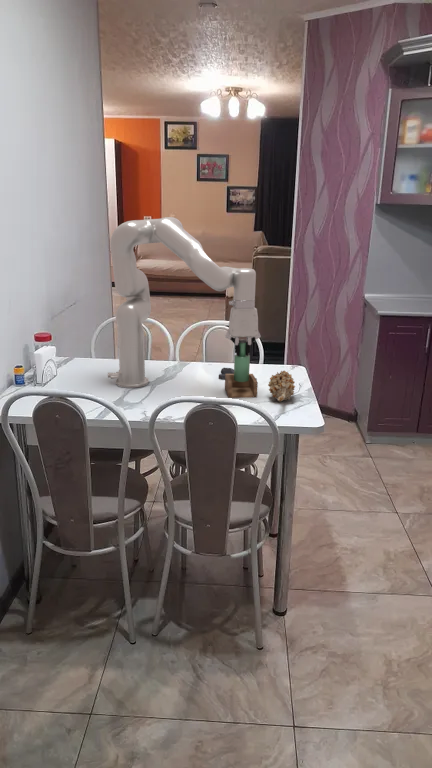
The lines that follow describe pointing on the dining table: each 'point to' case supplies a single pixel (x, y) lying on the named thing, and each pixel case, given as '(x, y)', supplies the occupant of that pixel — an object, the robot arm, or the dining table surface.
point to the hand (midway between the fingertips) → (242, 354)
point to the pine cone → (282, 386)
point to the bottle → (241, 363)
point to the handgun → (226, 371)
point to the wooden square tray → (240, 387)
